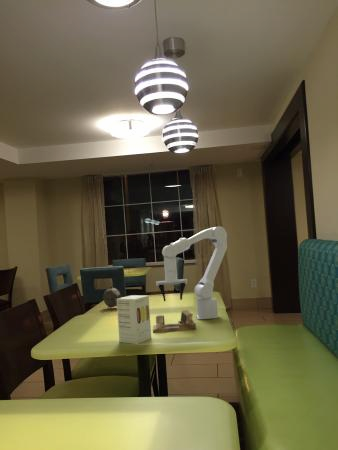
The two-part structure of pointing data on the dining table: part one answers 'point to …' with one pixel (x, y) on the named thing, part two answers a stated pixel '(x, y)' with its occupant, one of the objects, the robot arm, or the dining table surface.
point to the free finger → (186, 317)
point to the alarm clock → (111, 296)
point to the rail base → (171, 325)
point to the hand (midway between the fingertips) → (172, 300)
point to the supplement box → (134, 319)
